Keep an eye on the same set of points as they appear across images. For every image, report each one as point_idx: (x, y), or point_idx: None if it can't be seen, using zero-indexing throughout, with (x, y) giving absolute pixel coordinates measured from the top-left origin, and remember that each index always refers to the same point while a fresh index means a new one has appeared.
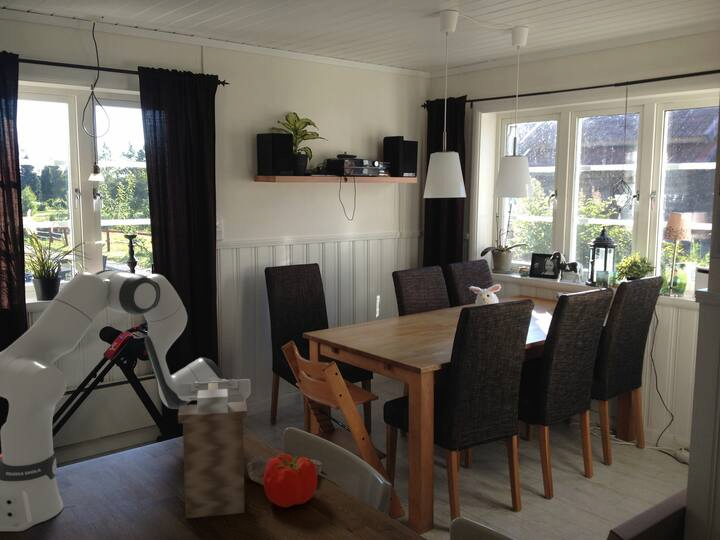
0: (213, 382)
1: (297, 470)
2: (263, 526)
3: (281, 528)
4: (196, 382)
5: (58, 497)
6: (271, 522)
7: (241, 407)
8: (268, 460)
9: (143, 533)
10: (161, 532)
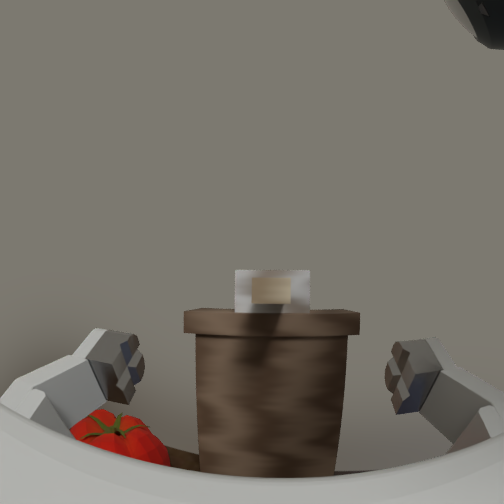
0: (265, 478)
1: (121, 414)
2: (196, 464)
3: (175, 455)
4: (413, 341)
5: None
6: (182, 466)
7: (207, 309)
8: None
9: (373, 470)
10: (348, 472)
